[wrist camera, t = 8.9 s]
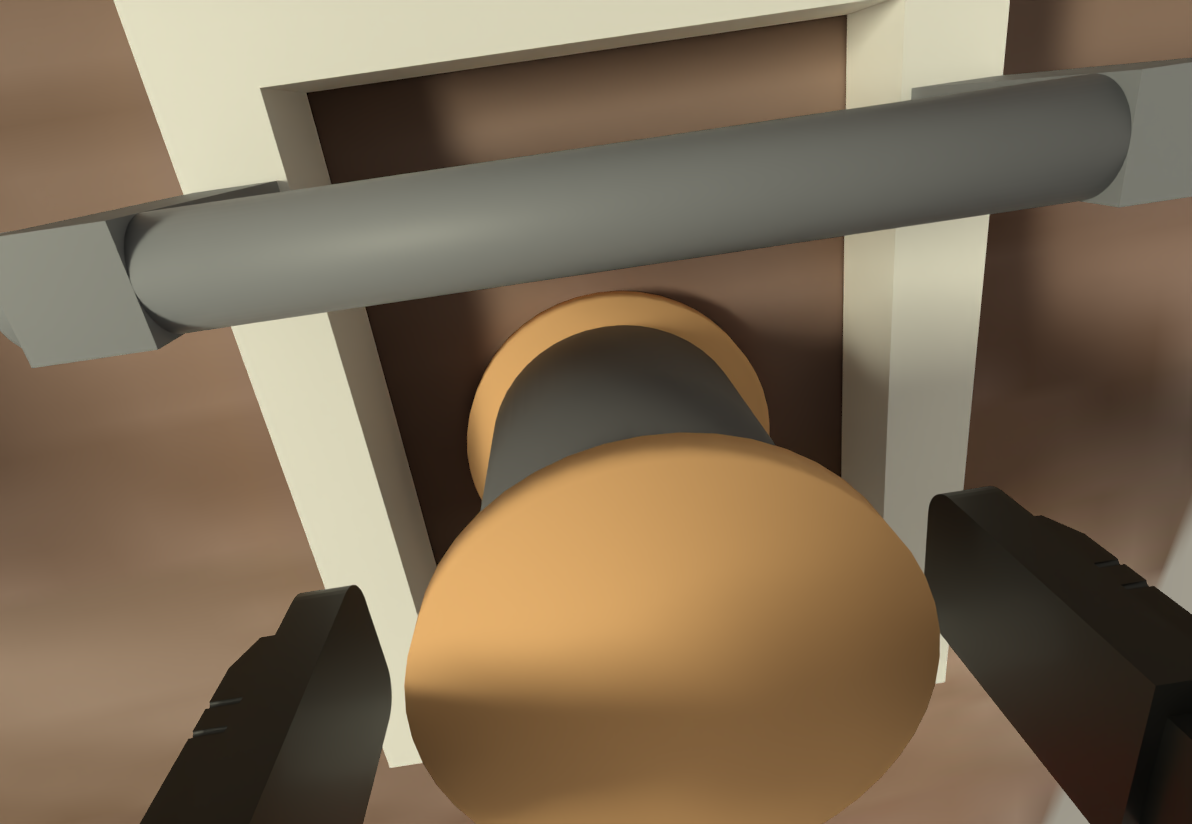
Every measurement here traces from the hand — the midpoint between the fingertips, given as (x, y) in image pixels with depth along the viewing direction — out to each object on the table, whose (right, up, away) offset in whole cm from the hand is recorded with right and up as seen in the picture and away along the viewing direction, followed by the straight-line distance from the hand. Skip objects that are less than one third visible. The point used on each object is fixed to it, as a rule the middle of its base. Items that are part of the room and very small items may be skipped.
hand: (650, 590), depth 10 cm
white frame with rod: (0, +3, +4) cm, 5 cm away
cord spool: (0, +2, +4) cm, 5 cm away
